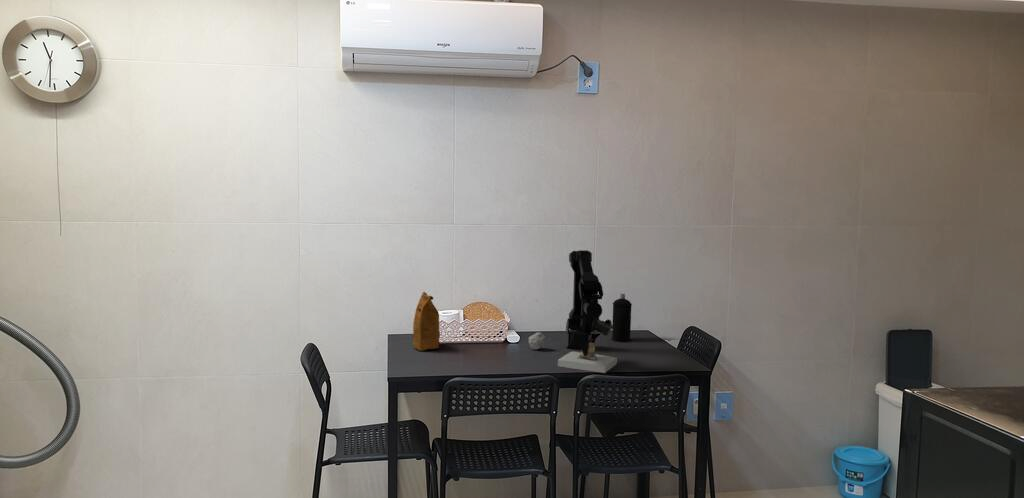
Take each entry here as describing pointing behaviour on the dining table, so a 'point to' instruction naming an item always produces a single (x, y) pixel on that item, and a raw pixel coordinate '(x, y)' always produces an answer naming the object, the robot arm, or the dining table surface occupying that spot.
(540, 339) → the grey rock
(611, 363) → the hub plate
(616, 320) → the aerosol can
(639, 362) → the dining table surface
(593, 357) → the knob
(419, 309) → the coffee package
